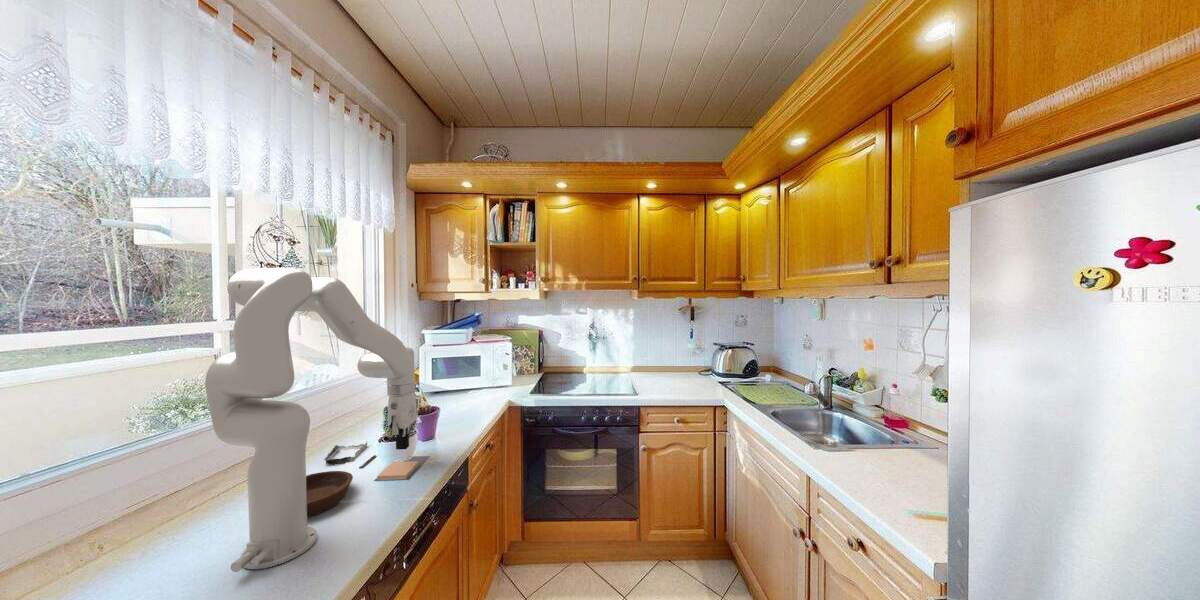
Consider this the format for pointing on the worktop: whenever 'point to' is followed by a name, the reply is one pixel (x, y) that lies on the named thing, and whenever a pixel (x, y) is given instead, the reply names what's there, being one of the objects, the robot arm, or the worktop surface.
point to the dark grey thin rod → (368, 461)
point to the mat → (421, 462)
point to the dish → (326, 490)
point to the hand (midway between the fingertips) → (402, 448)
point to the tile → (398, 470)
